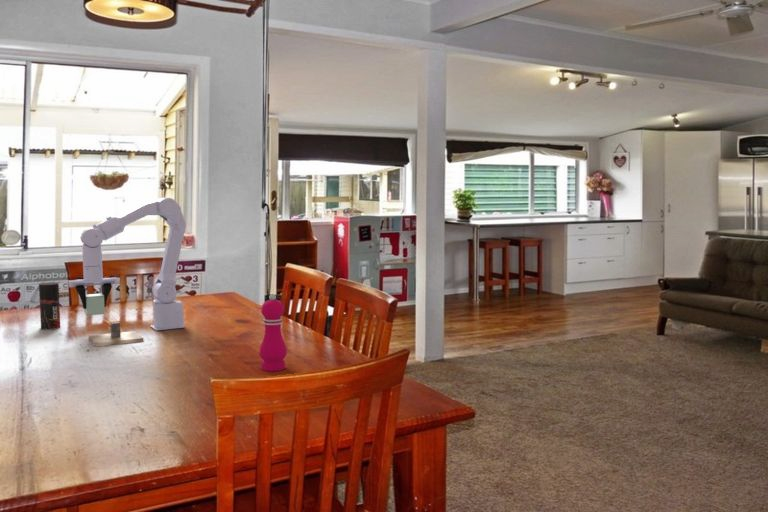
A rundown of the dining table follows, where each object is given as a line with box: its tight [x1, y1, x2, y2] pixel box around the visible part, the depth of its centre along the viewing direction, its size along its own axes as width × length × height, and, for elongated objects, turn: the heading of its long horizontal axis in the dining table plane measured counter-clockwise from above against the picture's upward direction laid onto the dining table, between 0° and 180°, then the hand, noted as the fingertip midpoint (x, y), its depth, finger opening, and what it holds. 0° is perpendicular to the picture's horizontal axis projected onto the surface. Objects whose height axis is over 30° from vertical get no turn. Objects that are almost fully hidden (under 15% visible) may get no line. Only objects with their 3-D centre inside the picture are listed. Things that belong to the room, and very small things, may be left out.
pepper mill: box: [258, 293, 288, 372], centre depth 180 cm, size 7×7×20 cm
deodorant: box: [38, 282, 61, 330], centre depth 230 cm, size 6×6×15 cm
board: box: [87, 321, 144, 347], centre depth 213 cm, size 14×12×6 cm
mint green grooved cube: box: [84, 292, 106, 317], centre depth 220 cm, size 5×5×6 cm
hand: (94, 307), depth 220 cm, fingers closed on mint green grooved cube, 5 cm apart
